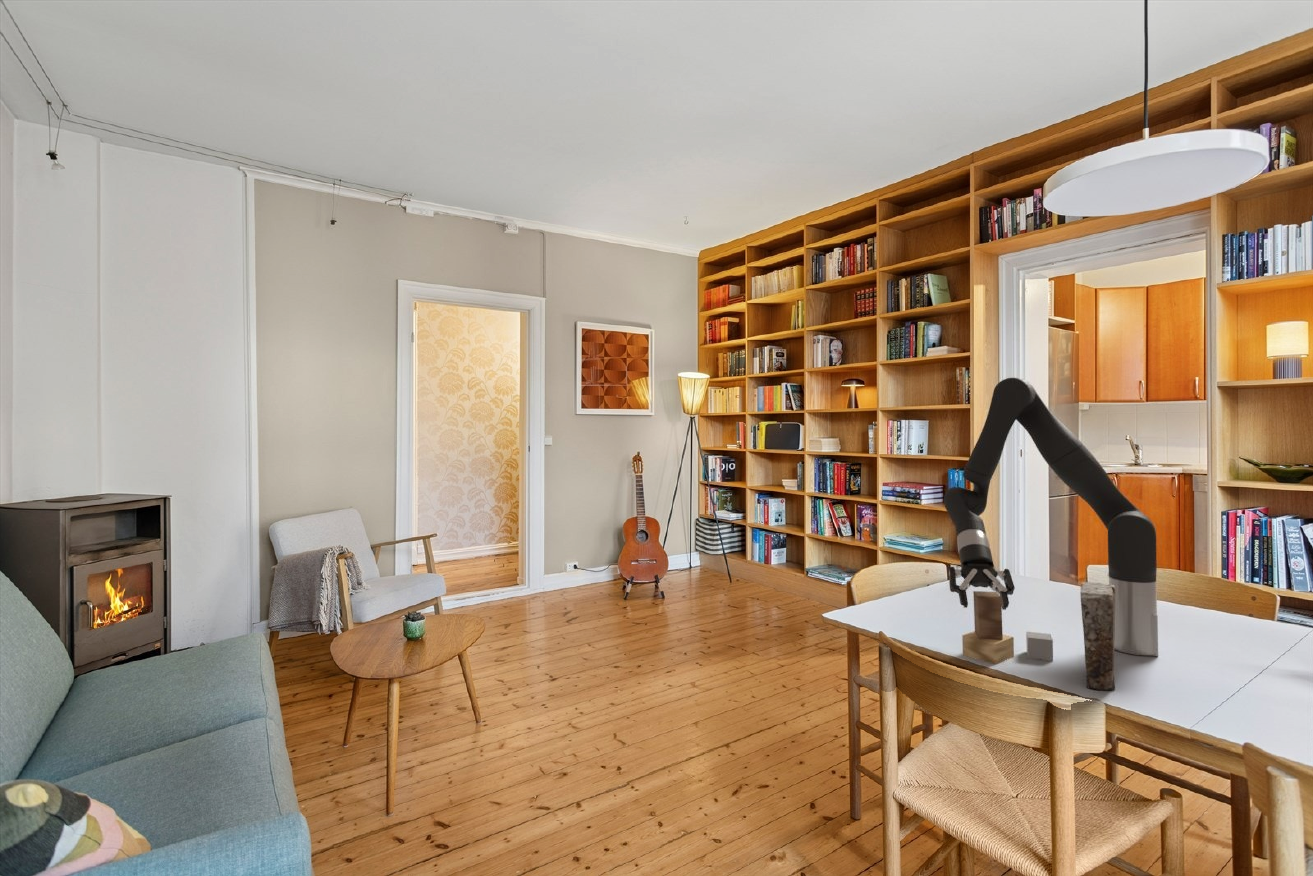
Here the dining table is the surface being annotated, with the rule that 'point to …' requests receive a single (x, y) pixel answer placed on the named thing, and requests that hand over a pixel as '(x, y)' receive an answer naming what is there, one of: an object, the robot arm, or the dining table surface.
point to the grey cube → (1039, 646)
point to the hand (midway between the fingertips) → (985, 607)
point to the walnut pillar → (988, 615)
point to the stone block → (1099, 633)
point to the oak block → (988, 648)
